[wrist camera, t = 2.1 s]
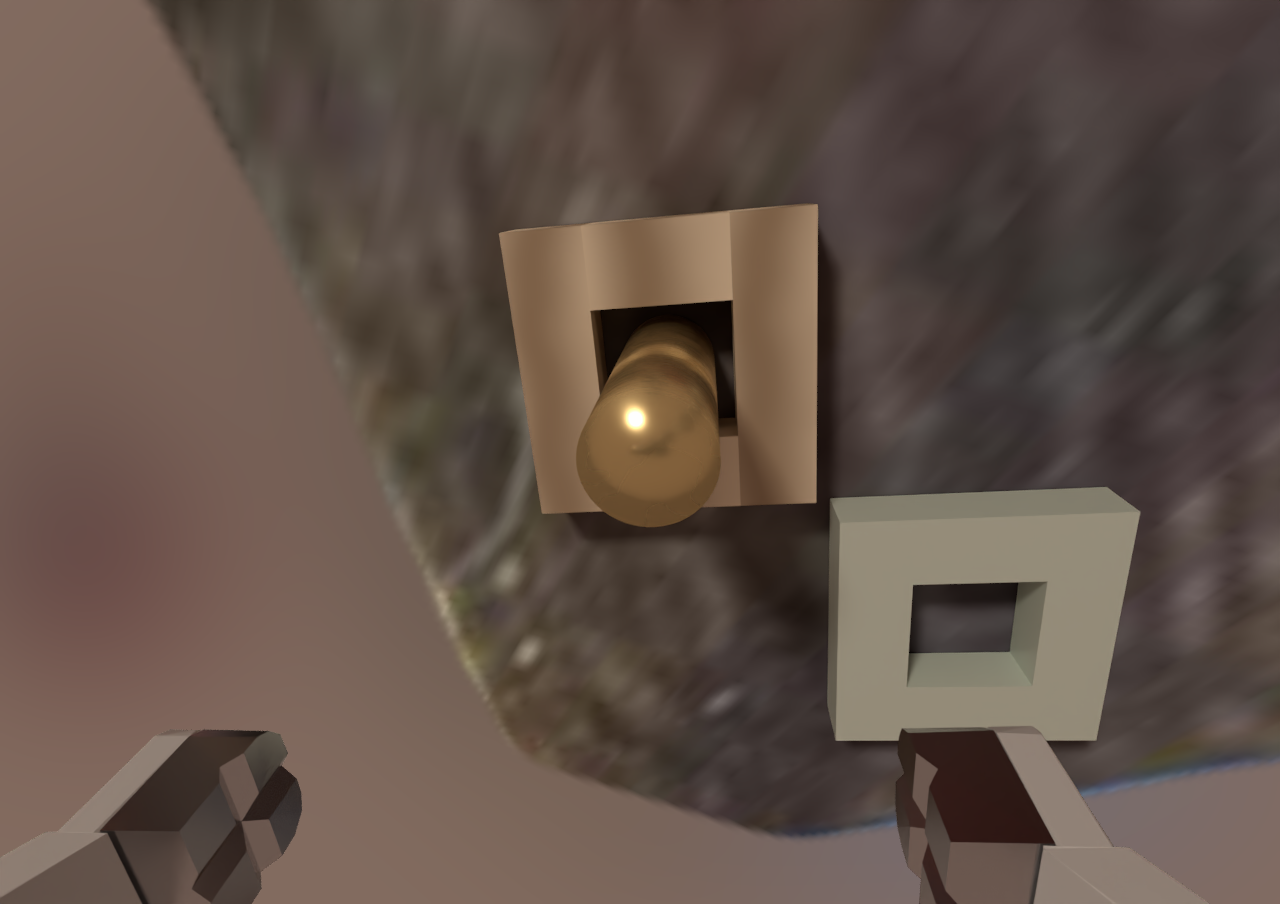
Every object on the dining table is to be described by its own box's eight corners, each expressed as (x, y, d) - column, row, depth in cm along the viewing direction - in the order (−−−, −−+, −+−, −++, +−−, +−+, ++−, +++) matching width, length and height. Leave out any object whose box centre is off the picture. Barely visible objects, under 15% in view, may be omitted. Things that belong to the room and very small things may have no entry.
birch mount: (808, 203, 27) (817, 204, 25) (807, 479, 31) (816, 502, 29) (515, 229, 28) (499, 233, 26) (553, 490, 33) (542, 513, 30)
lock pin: (712, 311, 29) (717, 387, 18) (716, 401, 30) (723, 524, 19) (619, 318, 29) (567, 396, 18) (628, 406, 31) (584, 529, 20)
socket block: (1106, 486, 30) (1140, 511, 28) (1069, 703, 34) (1096, 740, 32) (830, 498, 31) (840, 522, 29) (827, 704, 36) (835, 740, 33)
